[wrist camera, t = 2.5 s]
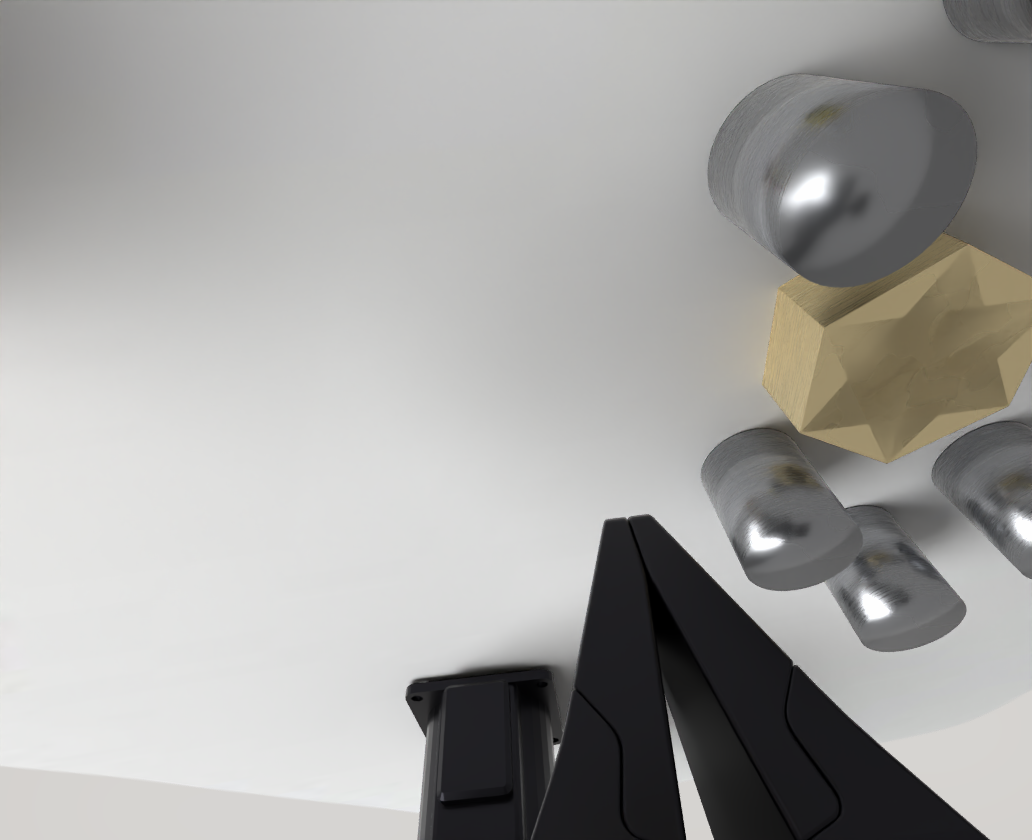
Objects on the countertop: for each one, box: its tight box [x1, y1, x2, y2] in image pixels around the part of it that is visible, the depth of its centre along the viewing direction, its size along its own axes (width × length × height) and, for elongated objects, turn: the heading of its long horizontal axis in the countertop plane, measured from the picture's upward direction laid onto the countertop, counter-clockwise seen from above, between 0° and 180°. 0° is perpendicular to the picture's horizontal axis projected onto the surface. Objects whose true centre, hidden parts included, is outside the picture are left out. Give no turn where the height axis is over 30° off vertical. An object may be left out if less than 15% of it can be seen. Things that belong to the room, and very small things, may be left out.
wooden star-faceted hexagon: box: [762, 233, 1032, 464], centre depth 13 cm, size 5×6×2 cm
